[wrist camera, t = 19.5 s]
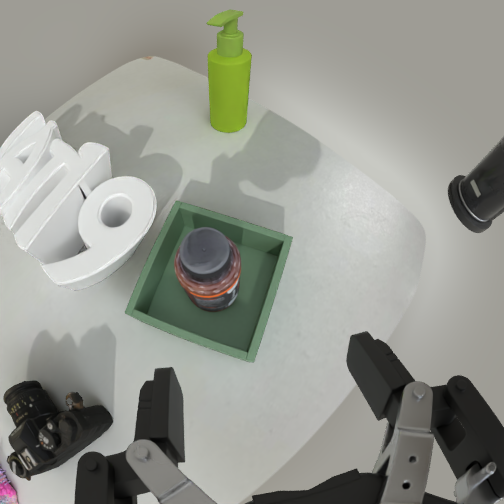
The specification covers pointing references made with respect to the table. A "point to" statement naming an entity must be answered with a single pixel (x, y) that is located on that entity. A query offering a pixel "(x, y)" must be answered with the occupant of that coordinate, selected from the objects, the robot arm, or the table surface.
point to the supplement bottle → (208, 269)
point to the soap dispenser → (228, 75)
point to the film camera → (49, 429)
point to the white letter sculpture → (70, 204)
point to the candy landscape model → (6, 491)
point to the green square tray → (185, 311)
